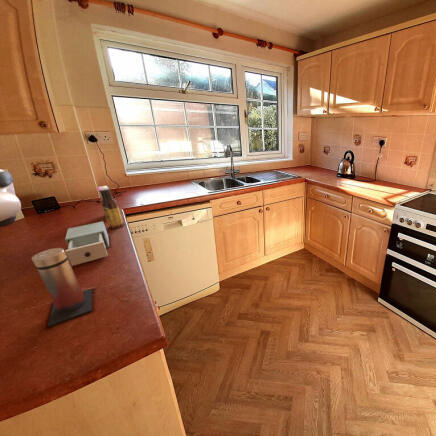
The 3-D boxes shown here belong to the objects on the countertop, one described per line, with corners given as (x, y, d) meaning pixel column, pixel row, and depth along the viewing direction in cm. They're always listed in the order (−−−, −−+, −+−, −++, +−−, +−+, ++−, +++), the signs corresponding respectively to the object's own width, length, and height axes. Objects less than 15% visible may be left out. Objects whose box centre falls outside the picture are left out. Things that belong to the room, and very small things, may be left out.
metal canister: (56, 316, 66) (28, 263, 59) (59, 303, 70) (33, 252, 64) (85, 306, 69) (62, 254, 63) (86, 294, 74) (65, 245, 67)
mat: (48, 327, 63) (47, 326, 63) (54, 302, 72) (53, 301, 72) (91, 311, 68) (91, 310, 68) (92, 289, 77) (91, 288, 77)
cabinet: (109, 247, 103) (103, 230, 100) (72, 256, 97) (65, 239, 94) (108, 236, 113) (103, 221, 110) (74, 244, 106) (68, 228, 104)
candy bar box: (106, 214, 142) (96, 186, 135) (116, 212, 145) (107, 185, 138) (107, 219, 134) (97, 190, 127) (118, 217, 136) (109, 188, 130)
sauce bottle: (108, 226, 124) (95, 188, 117) (123, 223, 128) (111, 186, 120) (110, 230, 120) (96, 191, 112) (124, 226, 123) (112, 188, 116)
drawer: (108, 257, 94) (103, 243, 92) (71, 267, 88) (64, 252, 85) (107, 244, 104) (102, 231, 102) (73, 252, 98) (68, 239, 96)
